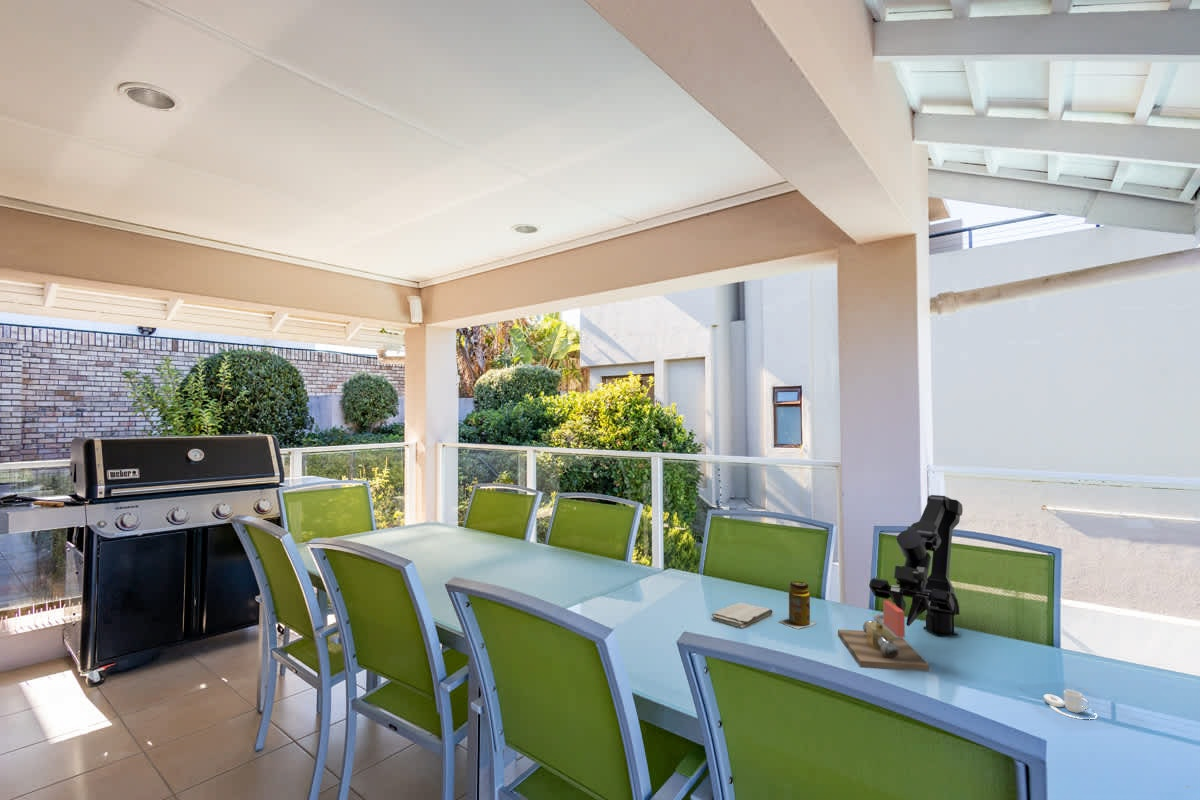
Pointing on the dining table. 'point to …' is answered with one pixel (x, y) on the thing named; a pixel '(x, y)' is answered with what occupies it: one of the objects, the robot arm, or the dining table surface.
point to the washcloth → (741, 615)
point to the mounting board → (875, 658)
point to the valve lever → (892, 619)
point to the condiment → (798, 606)
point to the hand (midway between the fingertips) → (903, 624)
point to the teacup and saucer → (1067, 702)
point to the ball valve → (880, 639)
